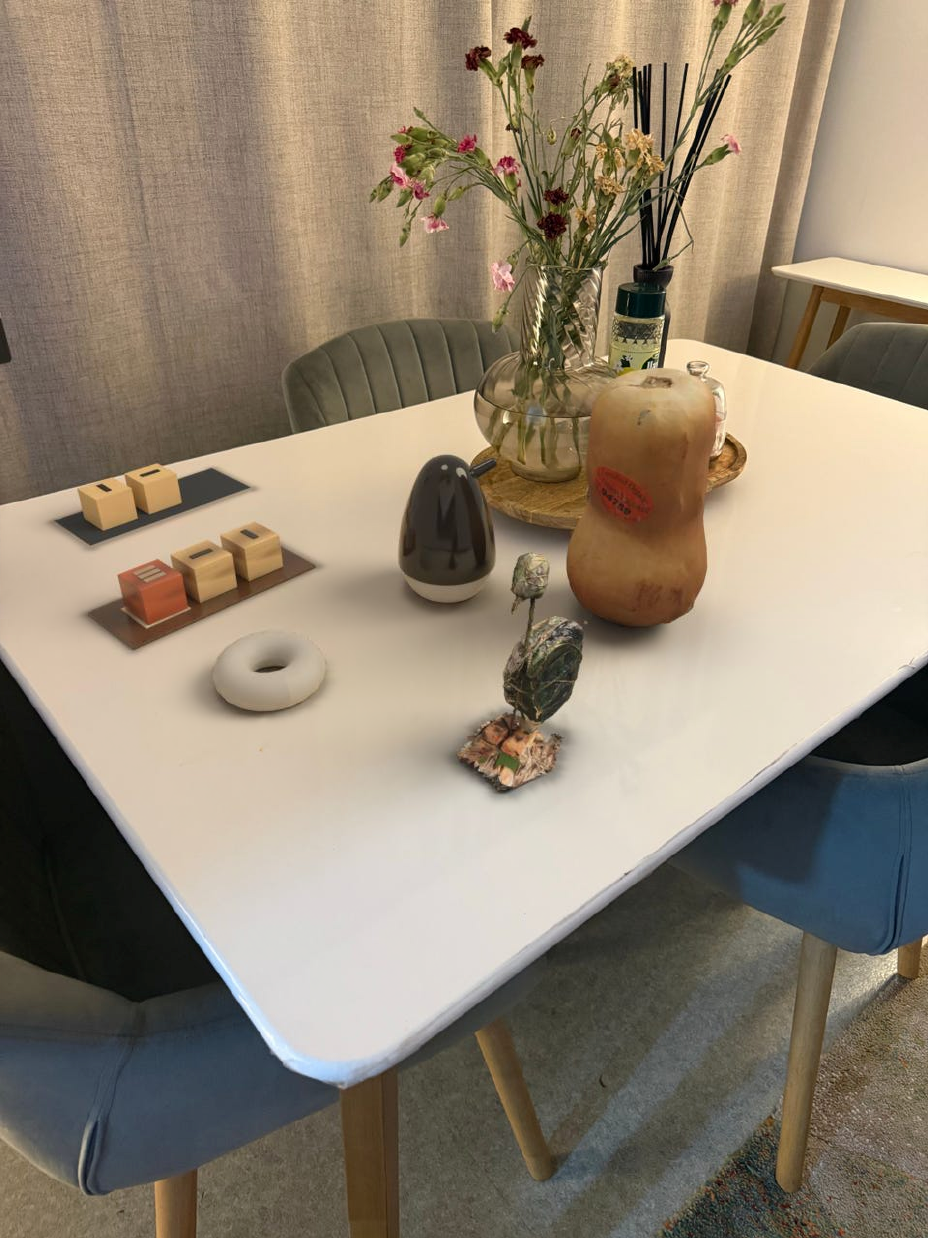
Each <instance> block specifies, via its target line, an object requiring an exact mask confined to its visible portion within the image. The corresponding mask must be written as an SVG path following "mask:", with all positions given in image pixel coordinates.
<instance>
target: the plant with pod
mask: <svg viewBox="0 0 928 1238" xmlns="http://www.w3.org/2000/svg"><path fill="white" fill-rule="evenodd" d="M550 569H551V567H550V562H549V560H548V558H547V557H546V556H545V555H543V554H541V553H540V554H538V553H534V552H527V553H524V554H521V555H519V556H518V558H517V560H516V562H515V567H514V568H513V573H512V578H511V588H510V589H509V590H510V591H511V593H512V594H514V595H515V599H514V601H513V602H512V603H511V605H512V607H511V610H510V613H511V614H512V615H513V614H514V613H516V611H517V609H518V605H520V604H522V603H524V602H525V601H526V600H529V609H528V620H527V627H526V628H527V629H526V631H525V632H524V634H523V635H522V636H521V637H519V639H518V640H517V642H516V644H514V646H513V648H512V651H511V653H510V655H509V657H508V659H507V661H506V664H505V667H504V668H503V669H504V670H503V671H502V679H503V684H502V685H501V686H502V688H503V697H504V700H505V702H506V703H507V704H508V705H510V706H511V707H513V710H512V712H510V713H509V711H506V712H504V713H503V714H502V715H497V717H495V719H492V720H491V719H490V720H485V723H483V722H482V724H480V723H479V724H478V725H479V727H478V728H477V730H476V731H473V733H474V734H472V735H469V736H466V739H467V742H466V743H463V746H464V747H461V749H460V751H459V752H457V757H458V760H459V761H461V762H463V763H466V765H469V764H471V763H473V762H474V764H473V769H476V768H477V767H478V770H477V772H481V773H484V774H483V775H482V778H487V780H491V782H492V783H493V782H494V783H493V784H492V786H495V787H496V788H497V790H499V791H504V790H505V791H506V790H507V791H510V790H514V789H515V788H516V787H520V786H521V785H525V784H526V783H528V782H530V780H533V779H535V778H537V777H539V776H540V777H541V774H544V775H547V772H546V771H548V772H551V770H552V769H554V768H555V766H554V765H556V762H557V755H558V753H559V751H560V750H562V749H563V748H561V747H562V746H561V745H562V744H563V743H562V742H563V739H564V738H565V736H561V735H560V733H558V734H556V732H555V733H550V738H549V739H548V740H547V738H546V737H545V736H543V734H542V732H541V731H540V730H539V727H540V726H541V725H543V724H544V723H545V721H547V720H549V719H550V718H552V717H553V716H554V715H555V714H556V713H557V712H558V711H559V710H560V709H561V708H562V707H563V706H564V704H566V703H567V702H568V701H569V700H570V698H571V696H572V694H573V691H574V687H575V684H576V682H577V680H578V678H579V672H580V667H581V664H582V661H583V658H584V656H583V646H584V642H583V640H584V631H583V630H584V629H583V627H582V626H581V625H580V624H579V623H578V622H577V621H575V619H571V618H565V617H564V616H563V617H562V616H557V615H554V616H551V617H547V618H545V619H544V620H542V621H539V622H537V623H536V624H534V625H533V622H534V616H535V611H536V610H535V609H536V600H539V599H542V598H543V596H544V595H545V593H546V591H547V588H548V584H549V575H550ZM583 624H584V625H588V621H587V619H586V620H584V622H583ZM517 712H520V715H519V714H516V713H517ZM546 740H547V741H546Z"/></svg>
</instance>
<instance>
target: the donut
mask: <svg viewBox="0 0 928 1238" xmlns="http://www.w3.org/2000/svg"><path fill="white" fill-rule="evenodd" d="M326 664H327V662H326V658H325V655H324V654H323V652H322V650H321V648H320V647H319V645H318V644H316V643H315V642H314V641H313V640H312V639H310V638H309V637H306V636H304V635H302V634H299V633H297V632H293V631H288V630H264V631H259V632H253V633H249V634H248V635H245V636H242V637H240V638H237V639H236V640H235V641H233V642H232V643H230V644H229V645H227V646H226V647H224V649H223V650H222V651H221V652H220V654H219V655H218V656H217V658H216V659H215V662H214V666H213V669H212V680H213V682H214V683H213V684H214V688H215V689H216V692H217V693H219V695H220V696H221V697H222V698H223V699H224V700H225V701H226V702H227V703H229V704H231V705H233V706H235V707H238V708H240V709H244V710H248V711H253V712H254V711H255V712H274V711H280V710H284V709H288V708H291V707H293V706H295V705H298V704H299V703H302V702H304V701H306V700H307V699H308V698H309V697H311V695H313V694H314V693H315V692H317V690H319V687H320V685H321V684H322V682H323V681H324V679H325V674H326ZM271 667H281V669H279V670H275V671H270V672H259V670H262V669H266V668H271Z"/></svg>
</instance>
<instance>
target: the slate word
mask: <svg viewBox="0 0 928 1238" xmlns="http://www.w3.org/2000/svg"><path fill="white" fill-rule="evenodd" d="M123 475H124V479H125V483H123V482H121V481H120V480H118V479H116V478H114V477H112V476H111V477H109V478H106V479H102V480H99V481H96V482H93V483H90V484H87V485H84V486H80V487H78V488H76V489H77V493H78V494H77V495H78V496H79V502H80V506H81V509H82V510H81V511H78V512H76V513H73V514H70V515H67V516H64V517H61V518H58V519H55V520H54V523H57V524H58V525H59V526H61V527H62V528H64V529H65V530H67V531H68V532H70V533H71V534H72V535H74V536H76V537H77V538H78V539H80V540H82V541H83V542H85V543H86V544H87V545H89V546H95V545H96V544H99V543H103V542H106V541H107V540H110V539H113V538H116V537H119V536H121V535H124V534H126V533H130V532H132V531H136V530H138V529H140V528H143V527H146V526H148V525H152V524H154V523H157V522H160V521H162V520H165V519H168V518H170V517H174V516H176V515H177V516H178V515H179V514H182V513H184V512H187V511H190V510H193V509H196V508H200V507H202V506H205V505H207V504H209V503H213V502H215V501H218V500H220V499H223V498H226V497H229V496H231V495H234V494H237V493H240V492H242V491H246V490H248V489H250V488H251V486H249V485H247V484H245V483H243V482H241V481H239V480H237V479H235V478H233V477H231V476H230V475H227V474H225V473H223V472H221V471H219V470H217V469H216V468H215V469H214V468H213V467H210V468H207V469H204V470H201V471H198V472H195V473H192V474H189V475H186V476H183V477H179V478H178V477H177V476H178V475H177V473H176V472H175V471H173V470H170V469H168V468H167V467H165V466H163V465H161V464H159V463H157V462H156V463H153V464H150V465H147V466H144V467H141V468H138V469H134V470H131V471H128V472H125V473H123Z"/></svg>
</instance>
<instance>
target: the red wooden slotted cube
mask: <svg viewBox="0 0 928 1238" xmlns="http://www.w3.org/2000/svg"><path fill="white" fill-rule="evenodd" d="M116 575H117V580H118V583H119V588H120V592H121V596H122V597H121V598H123V601H124V605H125V609H127V610H128V611H129V612H131V613H132V614H133V615H135V616H136V617H138V618H139V619H140V620H142V621H143V622H144V623H146V624H147V625H151V624H153V623H155V622H157V621H160V620H162V619H164V618H166V617H169V616H171V615H173V614H176V613H178V612H180V611H182V610H185V609H187V608H188V605H187V599H186V594H185V589H184V584H183V579H182V574H181V573H179V572H178V571H176V570H174V569H173V567H171V566H170V565H169V564H167V563H165V562H163V561H162V560H160V559H159V558H156V559H154V560H151V561H149V562H146V563H143V564H141V565H139V566H136V567H133V568H131V569H128V570H126V571H123V572H121V573H118V574H116Z"/></svg>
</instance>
